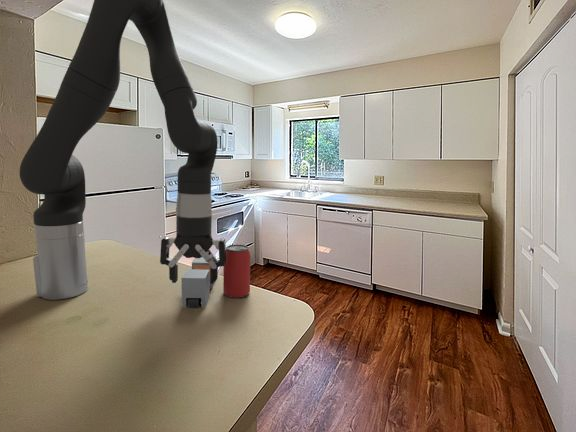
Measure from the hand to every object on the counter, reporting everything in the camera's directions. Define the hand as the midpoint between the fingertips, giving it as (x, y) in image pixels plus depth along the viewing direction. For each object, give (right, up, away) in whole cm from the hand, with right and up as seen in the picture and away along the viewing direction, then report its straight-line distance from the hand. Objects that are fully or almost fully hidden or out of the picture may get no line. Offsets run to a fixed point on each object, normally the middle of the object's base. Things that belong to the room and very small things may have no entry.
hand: (193, 282), depth 73 cm
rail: (0, -4, +6) cm, 7 cm away
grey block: (0, -5, +1) cm, 5 cm away
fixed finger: (-1, -3, +11) cm, 12 cm away
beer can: (+9, -4, +7) cm, 12 cm away
